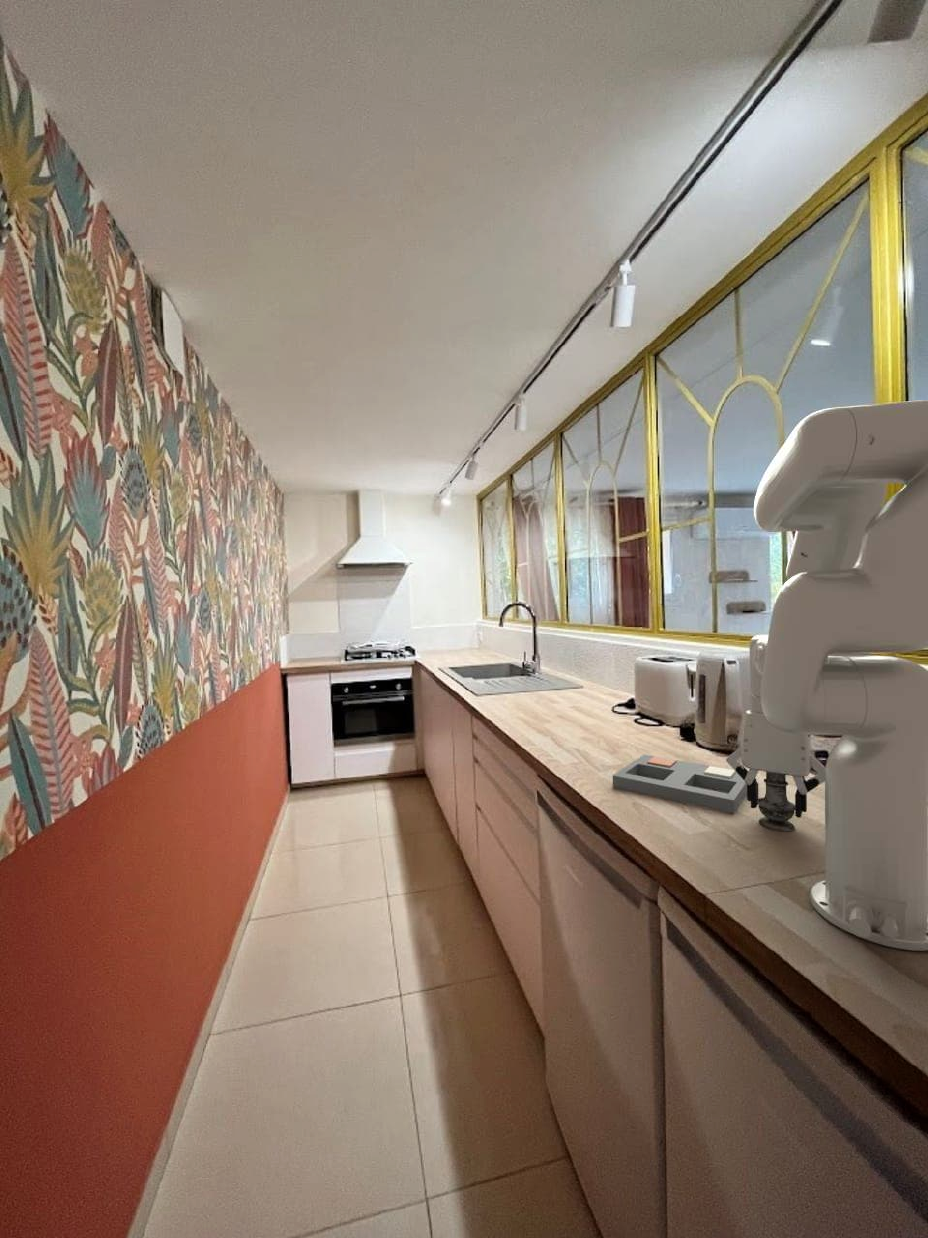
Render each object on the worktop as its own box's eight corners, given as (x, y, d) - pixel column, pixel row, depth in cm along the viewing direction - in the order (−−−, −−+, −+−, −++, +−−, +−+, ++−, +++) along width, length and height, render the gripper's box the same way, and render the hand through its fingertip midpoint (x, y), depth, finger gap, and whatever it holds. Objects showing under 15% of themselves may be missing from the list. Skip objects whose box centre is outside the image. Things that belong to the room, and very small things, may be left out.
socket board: (734, 813, 90) (733, 798, 90) (612, 786, 105) (612, 773, 105) (752, 784, 105) (752, 771, 105) (644, 764, 119) (643, 752, 119)
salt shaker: (803, 833, 82) (802, 760, 82) (764, 830, 83) (763, 759, 83) (787, 818, 88) (786, 751, 88) (751, 816, 89) (750, 750, 89)
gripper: (838, 708, 83) (839, 815, 83) (724, 698, 94) (725, 793, 94) (836, 715, 77) (837, 831, 77) (715, 704, 88) (716, 805, 88)
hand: (776, 809), depth 85 cm, fingers closed on salt shaker, 5 cm apart
